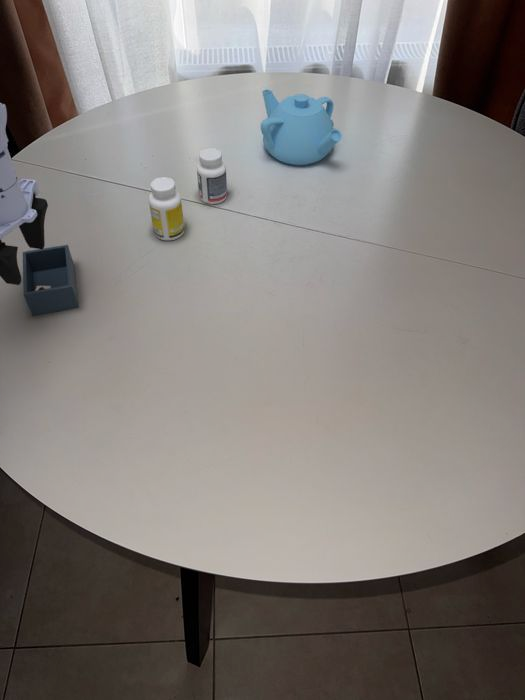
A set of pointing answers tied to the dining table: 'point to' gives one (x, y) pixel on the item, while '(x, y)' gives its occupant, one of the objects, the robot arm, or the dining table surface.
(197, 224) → the dining table surface
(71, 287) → the bin
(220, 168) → the pill bottle
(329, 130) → the teapot
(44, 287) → the cube with brown bumps
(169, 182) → the supplement bottle
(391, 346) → the dining table surface
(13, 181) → the robot arm
